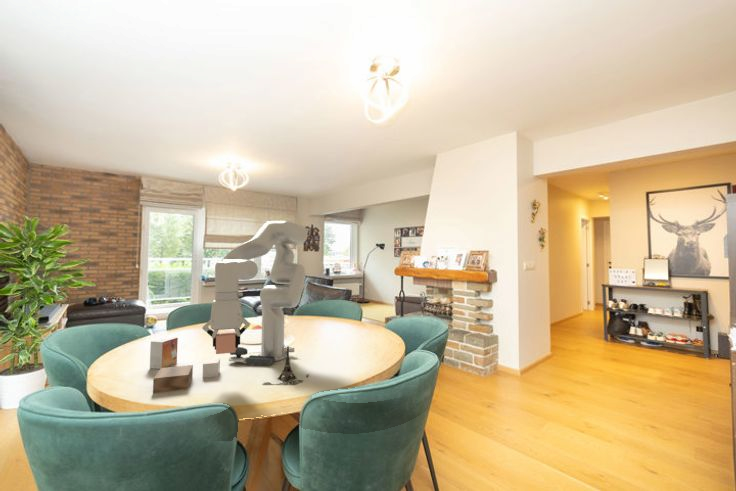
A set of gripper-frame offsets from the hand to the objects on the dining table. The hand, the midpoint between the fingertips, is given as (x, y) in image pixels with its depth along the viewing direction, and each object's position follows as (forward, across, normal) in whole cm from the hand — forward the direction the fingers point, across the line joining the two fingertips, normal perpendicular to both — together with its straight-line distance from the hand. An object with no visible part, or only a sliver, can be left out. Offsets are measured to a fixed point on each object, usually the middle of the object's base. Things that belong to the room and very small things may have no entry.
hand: (226, 347), depth 113 cm
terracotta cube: (+1, 0, 0) cm, 1 cm away
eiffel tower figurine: (+14, -20, +2) cm, 25 cm away
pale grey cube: (+13, +7, -10) cm, 18 cm away
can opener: (+14, -7, -19) cm, 24 cm away
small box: (+13, +27, -25) cm, 39 cm away
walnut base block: (+13, +17, -2) cm, 21 cm away
